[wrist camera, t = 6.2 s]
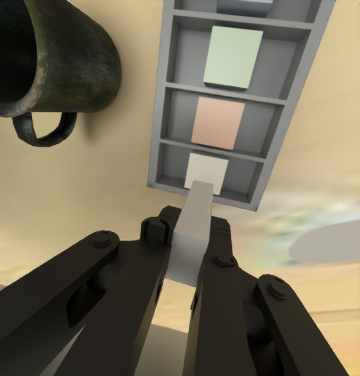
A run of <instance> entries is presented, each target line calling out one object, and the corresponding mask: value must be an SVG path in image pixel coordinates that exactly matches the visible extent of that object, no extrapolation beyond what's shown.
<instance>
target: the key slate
mask: <svg viewBox="0 0 360 376" xmlns="http://www.w3.org/2000/svg"><path fill="white" fill-rule="evenodd" d="M272 2H273V0H216V5H217V13H223V14H233V15H243V16H253V17H262V18H265V17H266V15H267V13H268V11H269V9H270V7H271V5H272Z"/></svg>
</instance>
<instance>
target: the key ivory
mask: <svg viewBox="0 0 360 376" xmlns="http://www.w3.org/2000/svg"><path fill="white" fill-rule="evenodd" d="M228 161H229V160H228V156H226V155H221V154H216V153H210V152H205V151H200V150H195V149H193V150H192V151H191V153H190V157H189V163H188V169H187V174H186V180H185V185H184V187H185V188H189V189H190V188H191V185H192V183H193V180H197V181H201V182H206V183H210V184H214V187H213V194H216V195H219V194H220V190H221V187H222V183H223V179H224V176H225V172H226V168H227V164H228Z"/></svg>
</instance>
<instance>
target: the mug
mask: <svg viewBox="0 0 360 376" xmlns="http://www.w3.org/2000/svg"><path fill="white" fill-rule="evenodd" d="M119 78H120V67H119V60H118V56H117V52H116V49H115V47H114V44H113V42H112V40H111V38H110V37H109V35H108V34H107V32H106V31H105V30H104V29H103V28H102V27H101V26H100V25H99V24H98V23H96V22H95V21H94V20H93V19H91V18H90V17H88V16H87V15H86V14H84V13H83V12H82V11H80V10H79V9H78V8H76V7H75V6H73V5H72V4H71V3H69V2H68V1H67V0H0V117H4V118H8V117H12V120H13V125H14V128H15V130H16V133H17V135H18V138H20V139H21V140H23V141H24V142H26V143H27V144H30V145H32V146H36V147H51V146H53V145H56V144H59V143H60V142H62V141H63V140H65V139H66V138H68V136H69V135H70V134H71V133H72V131H73V129H74V126H75V123H76V118H77V112H96V111H100V110H102V109H104V108H105V107H106V106H107V105H108V104H109V103H110V102H111V101H112V99H113V98H114V96H115V94H116V91H117V89H118V85H119ZM31 112H62V115H61V120H60V123H59V125H58V127H57V128H56V129H55V130H54V131H53V132H51V133H49V134H48V135H46V136H44V137H41V138H37V137H36V134H35V131H34V128H33V121H32V113H31Z"/></svg>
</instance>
